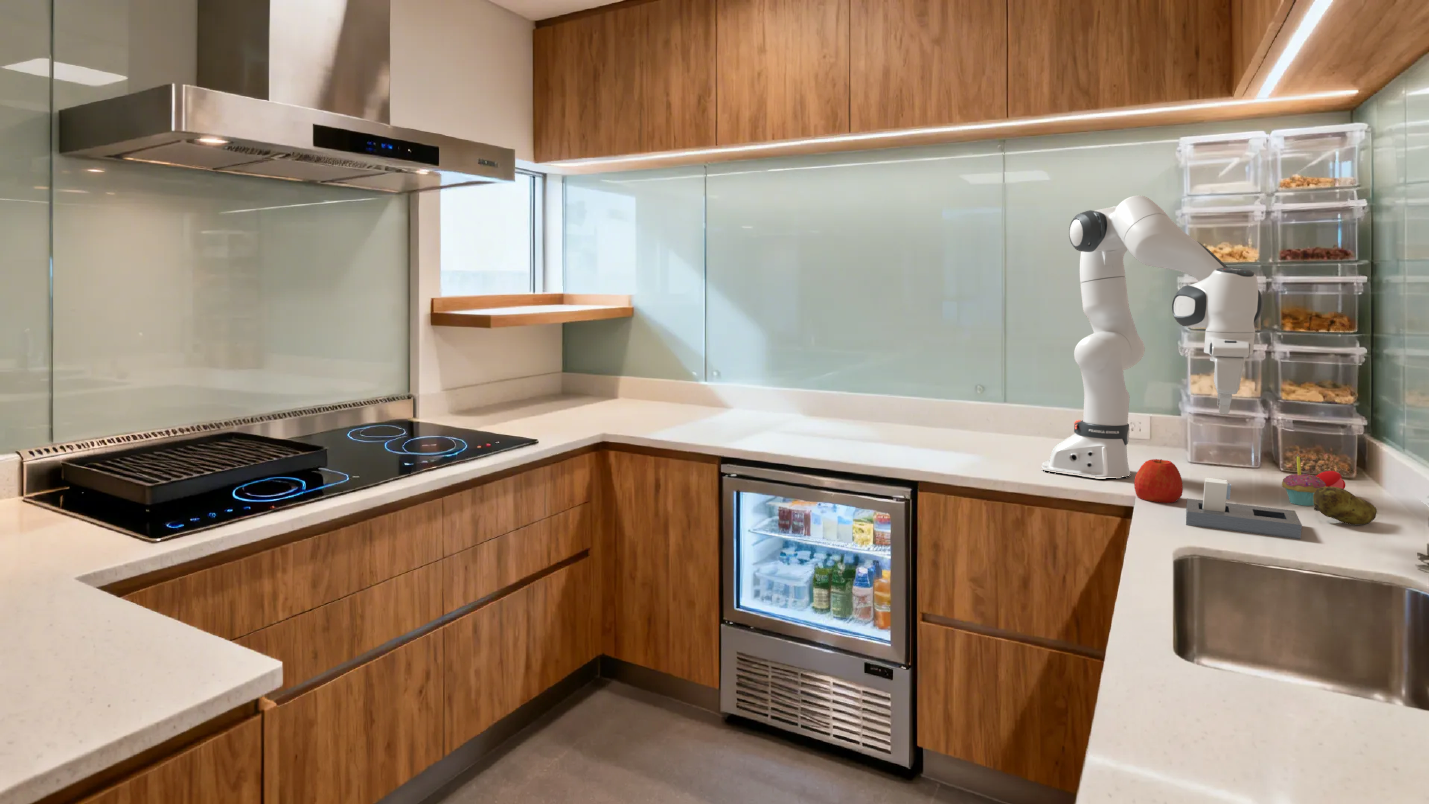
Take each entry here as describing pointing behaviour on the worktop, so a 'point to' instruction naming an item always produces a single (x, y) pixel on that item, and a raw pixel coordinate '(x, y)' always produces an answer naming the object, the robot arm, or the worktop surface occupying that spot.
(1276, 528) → the panel
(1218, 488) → the plug
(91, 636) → the worktop surface
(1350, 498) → the potato
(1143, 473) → the apple
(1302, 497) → the cupcake
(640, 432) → the worktop surface
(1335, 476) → the cap
